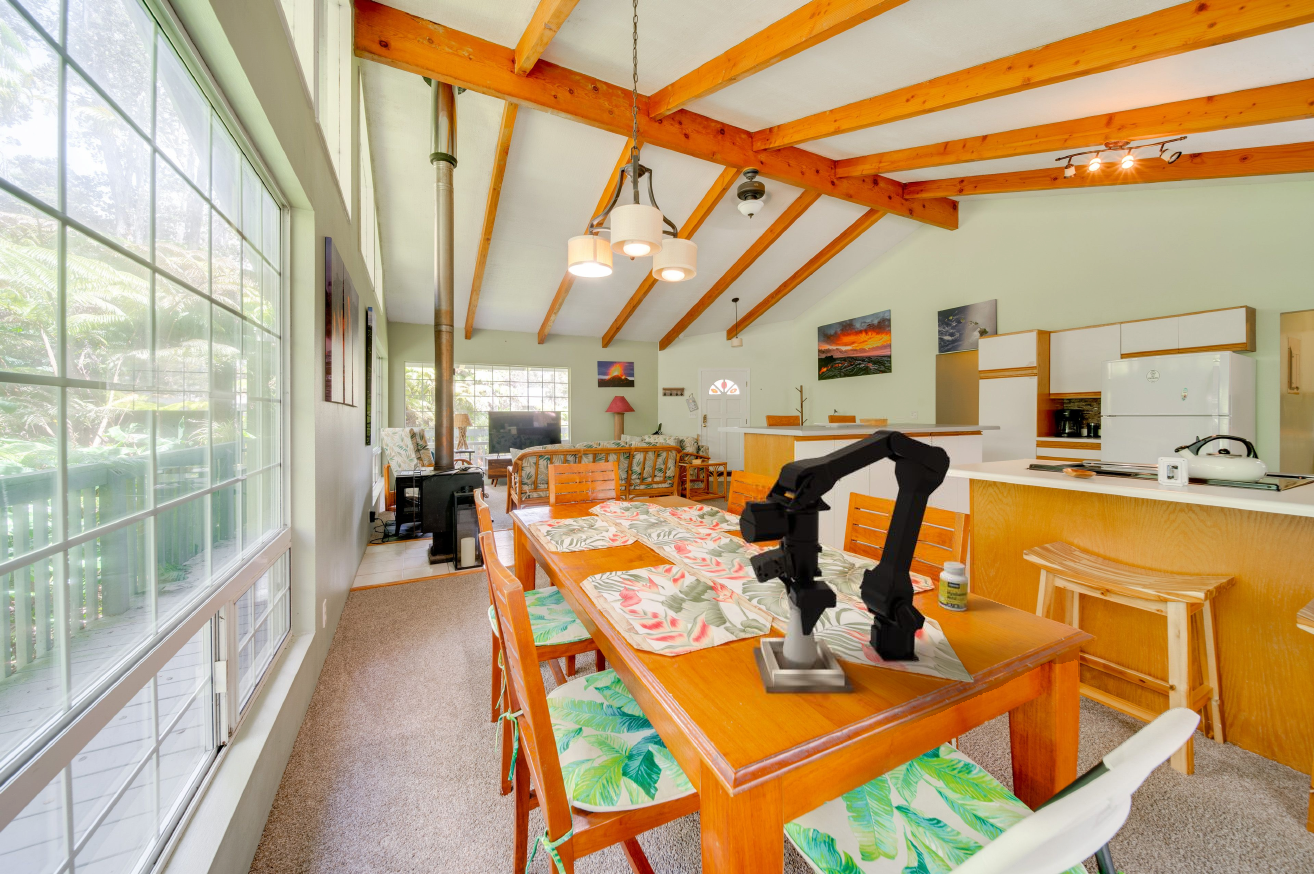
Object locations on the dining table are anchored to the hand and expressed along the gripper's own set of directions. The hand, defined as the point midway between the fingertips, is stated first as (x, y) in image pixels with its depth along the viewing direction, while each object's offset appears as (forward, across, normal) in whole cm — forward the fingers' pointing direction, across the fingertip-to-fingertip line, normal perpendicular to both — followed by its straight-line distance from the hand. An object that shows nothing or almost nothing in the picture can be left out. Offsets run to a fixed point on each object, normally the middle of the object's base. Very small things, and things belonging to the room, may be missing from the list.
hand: (800, 624), depth 82 cm
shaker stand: (+8, 0, 0) cm, 8 cm away
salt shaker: (+8, 0, 0) cm, 8 cm away
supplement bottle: (+9, -25, +41) cm, 49 cm away
